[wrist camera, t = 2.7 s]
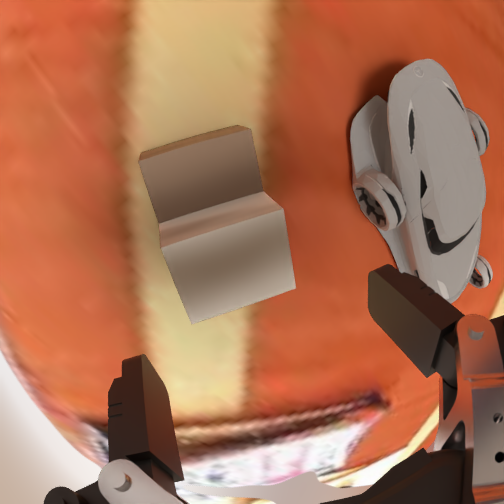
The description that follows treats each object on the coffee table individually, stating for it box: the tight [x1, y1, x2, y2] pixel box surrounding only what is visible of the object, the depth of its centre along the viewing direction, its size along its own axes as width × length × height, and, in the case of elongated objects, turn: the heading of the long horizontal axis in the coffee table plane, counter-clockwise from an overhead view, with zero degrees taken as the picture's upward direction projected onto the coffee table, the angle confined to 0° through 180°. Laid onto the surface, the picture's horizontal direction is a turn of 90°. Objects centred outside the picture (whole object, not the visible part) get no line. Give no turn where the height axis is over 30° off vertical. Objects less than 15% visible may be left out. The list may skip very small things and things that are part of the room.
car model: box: [350, 59, 493, 304], centre depth 20 cm, size 11×24×5 cm, turn 31°
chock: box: [138, 125, 296, 324], centre depth 15 cm, size 7×5×5 cm
